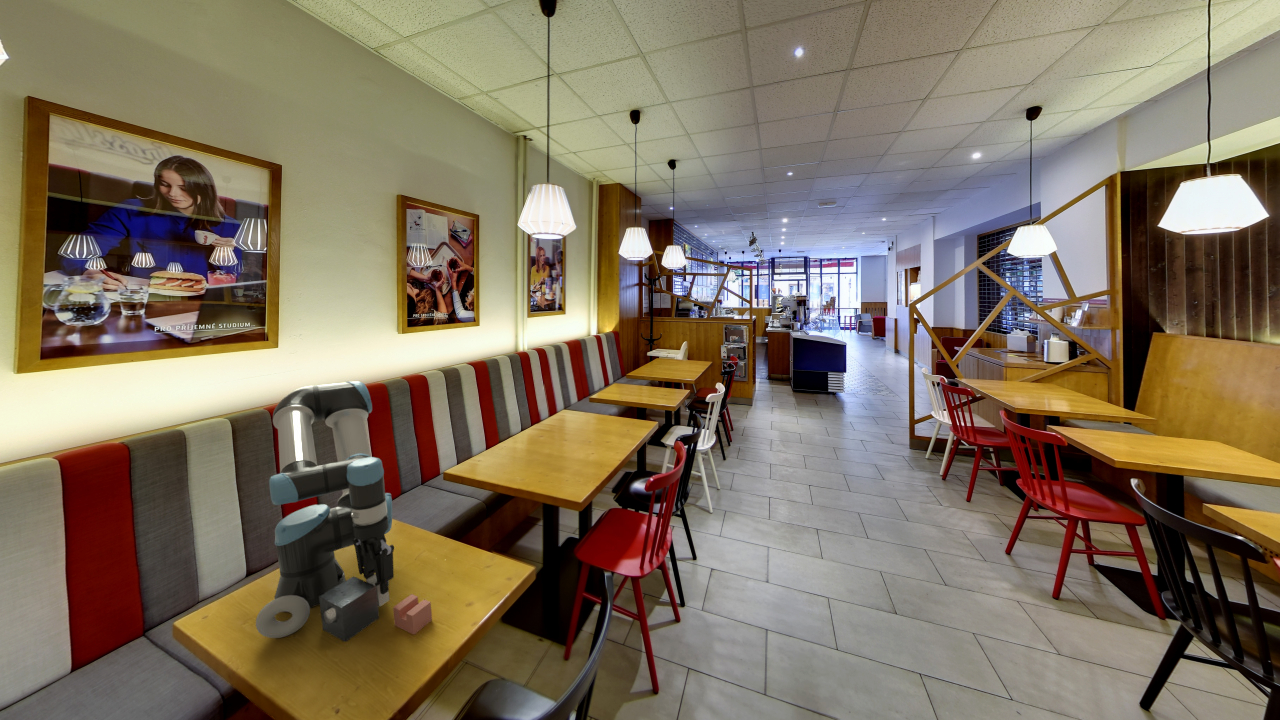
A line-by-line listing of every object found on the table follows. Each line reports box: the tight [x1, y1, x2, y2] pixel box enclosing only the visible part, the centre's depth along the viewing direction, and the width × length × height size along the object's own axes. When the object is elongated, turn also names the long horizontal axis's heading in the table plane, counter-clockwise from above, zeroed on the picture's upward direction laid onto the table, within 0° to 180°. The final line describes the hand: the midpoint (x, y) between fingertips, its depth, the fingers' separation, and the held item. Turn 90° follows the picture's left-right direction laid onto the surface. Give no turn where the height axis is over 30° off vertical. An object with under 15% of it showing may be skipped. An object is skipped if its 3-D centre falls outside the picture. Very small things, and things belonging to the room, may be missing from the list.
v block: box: [392, 593, 433, 635], centre depth 100 cm, size 7×5×5 cm
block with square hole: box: [319, 576, 380, 643], centre depth 99 cm, size 9×8×9 cm
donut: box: [255, 595, 311, 639], centre depth 96 cm, size 10×4×10 cm, turn 117°
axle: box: [324, 580, 390, 624], centre depth 101 cm, size 3×14×3 cm, turn 157°
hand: (379, 600), depth 106 cm, fingers closed on axle, 3 cm apart
